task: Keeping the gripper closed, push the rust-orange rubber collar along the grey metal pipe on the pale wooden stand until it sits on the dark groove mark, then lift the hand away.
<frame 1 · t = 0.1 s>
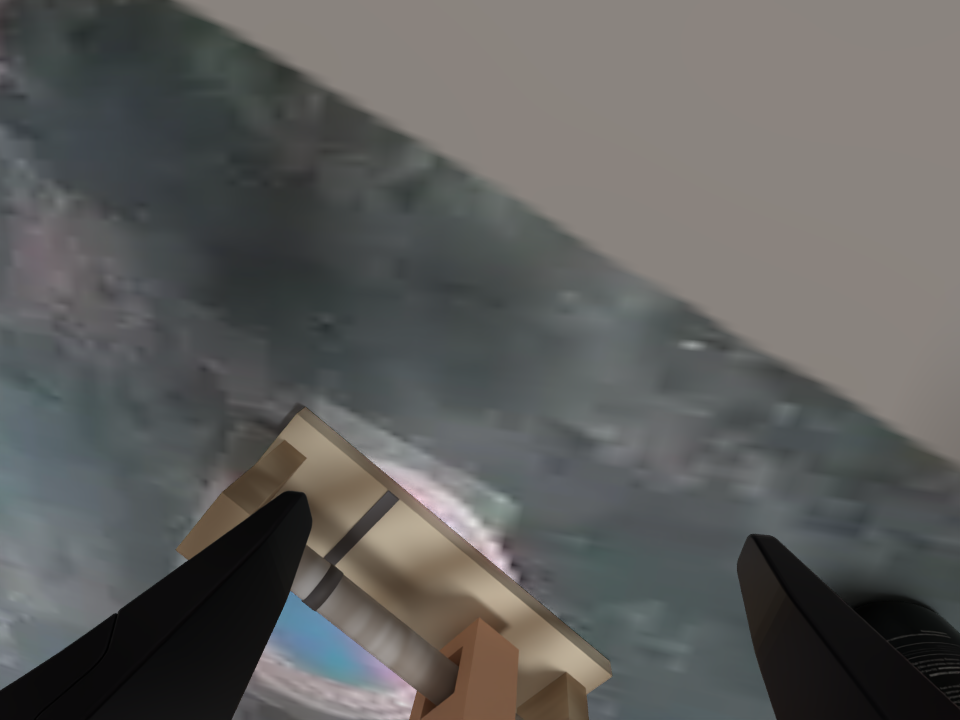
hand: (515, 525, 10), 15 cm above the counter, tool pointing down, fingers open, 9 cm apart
rubber collar: (460, 716, 24), point 6 cm above the counter, slide at -4.5 cm
pipe stand: (421, 577, 29), on the counter
supplement bottle: (880, 643, 27), on the counter
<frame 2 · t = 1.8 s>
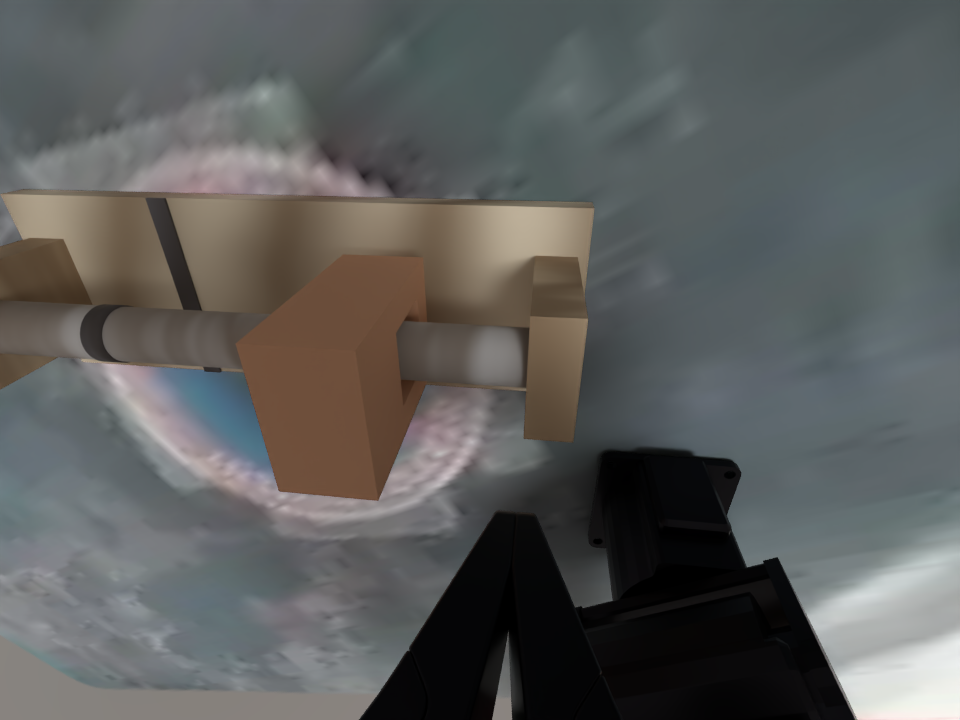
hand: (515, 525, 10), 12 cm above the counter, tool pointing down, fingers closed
rubber collar: (358, 362, 16), point 6 cm above the counter, slide at -4.5 cm
pipe stand: (306, 288, 21), on the counter
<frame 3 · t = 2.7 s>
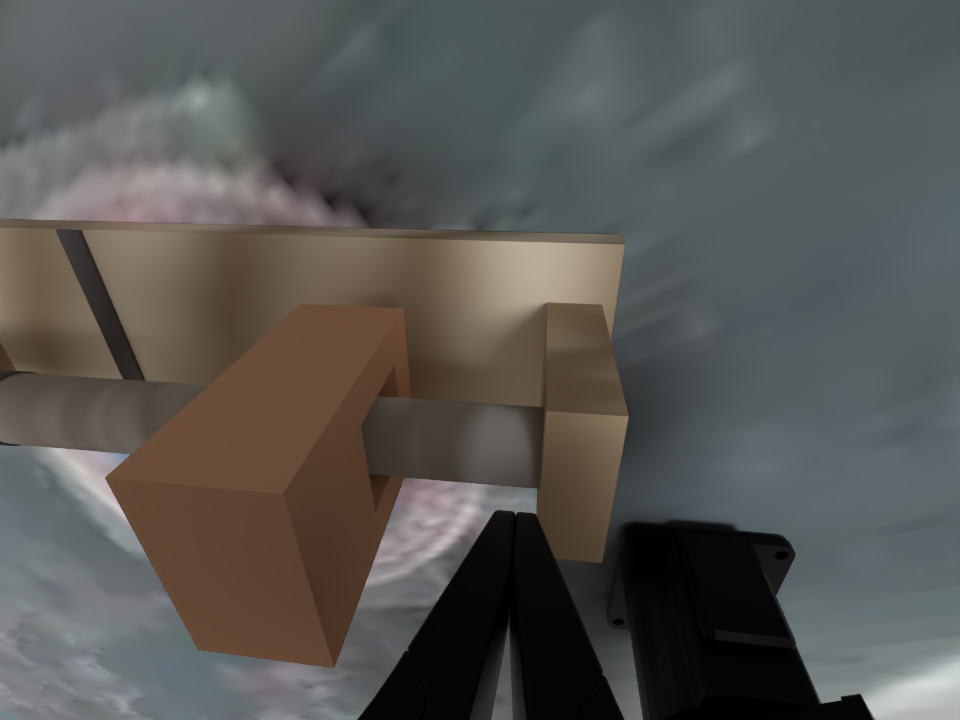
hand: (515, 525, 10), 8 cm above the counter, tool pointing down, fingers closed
rubber collar: (314, 455, 12), point 6 cm above the counter, slide at -4.5 cm
pipe stand: (265, 336, 17), on the counter
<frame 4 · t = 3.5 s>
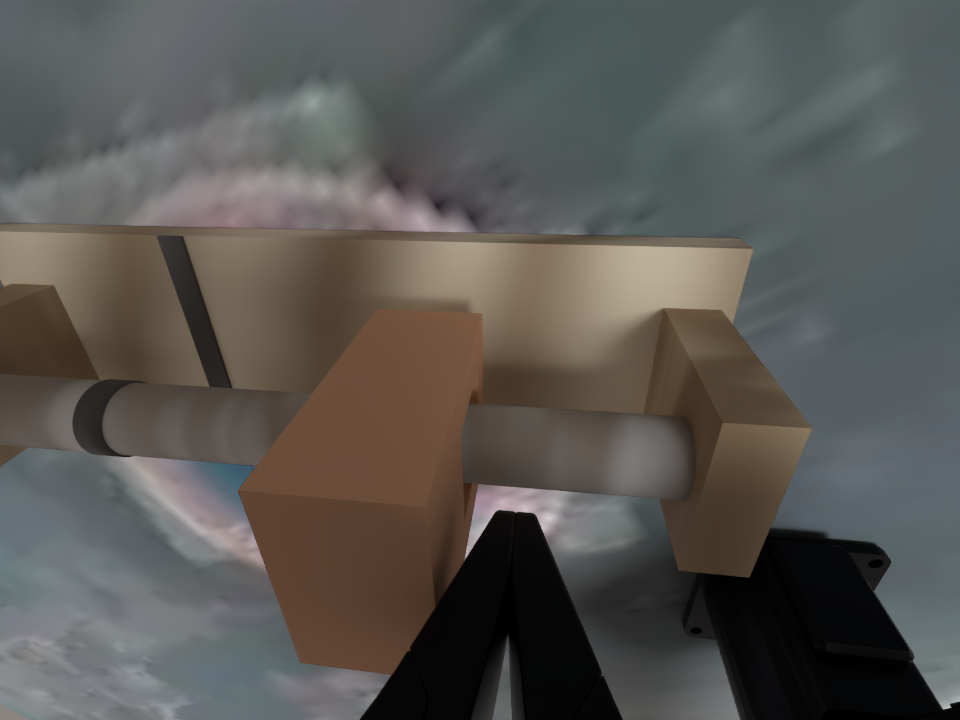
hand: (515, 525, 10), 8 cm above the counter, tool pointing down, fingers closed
rubber collar: (404, 463, 12), point 6 cm above the counter, slide at -3.3 cm, touching gripper
pipe stand: (356, 342, 17), on the counter
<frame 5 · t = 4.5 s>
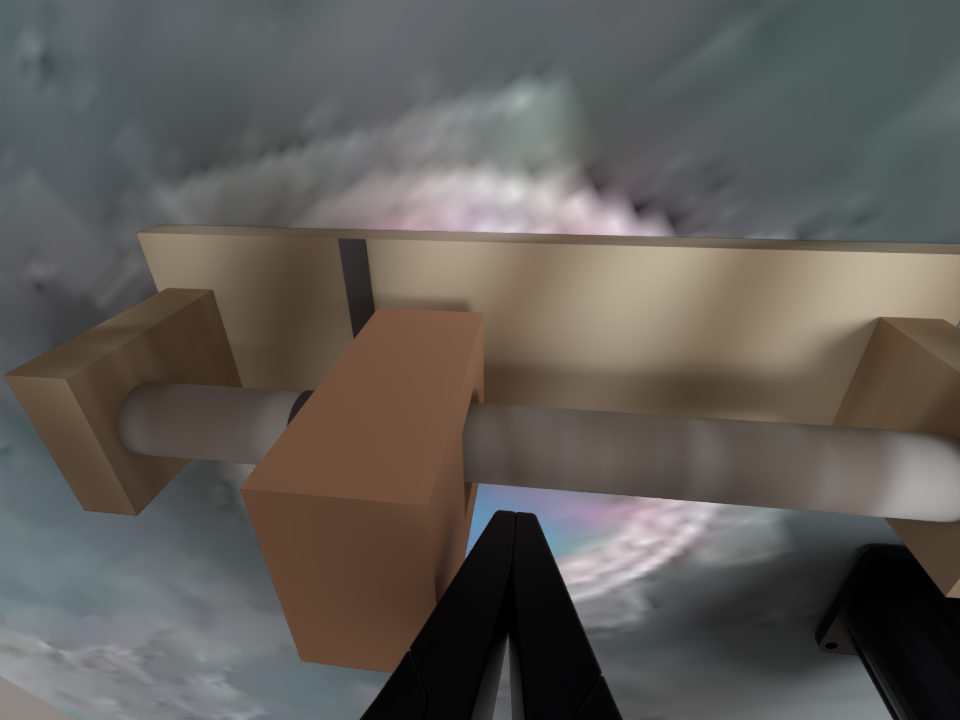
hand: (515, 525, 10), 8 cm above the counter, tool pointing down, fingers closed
rubber collar: (404, 462, 12), point 6 cm above the counter, slide at 2.5 cm, touching gripper
pipe stand: (519, 350, 16), on the counter
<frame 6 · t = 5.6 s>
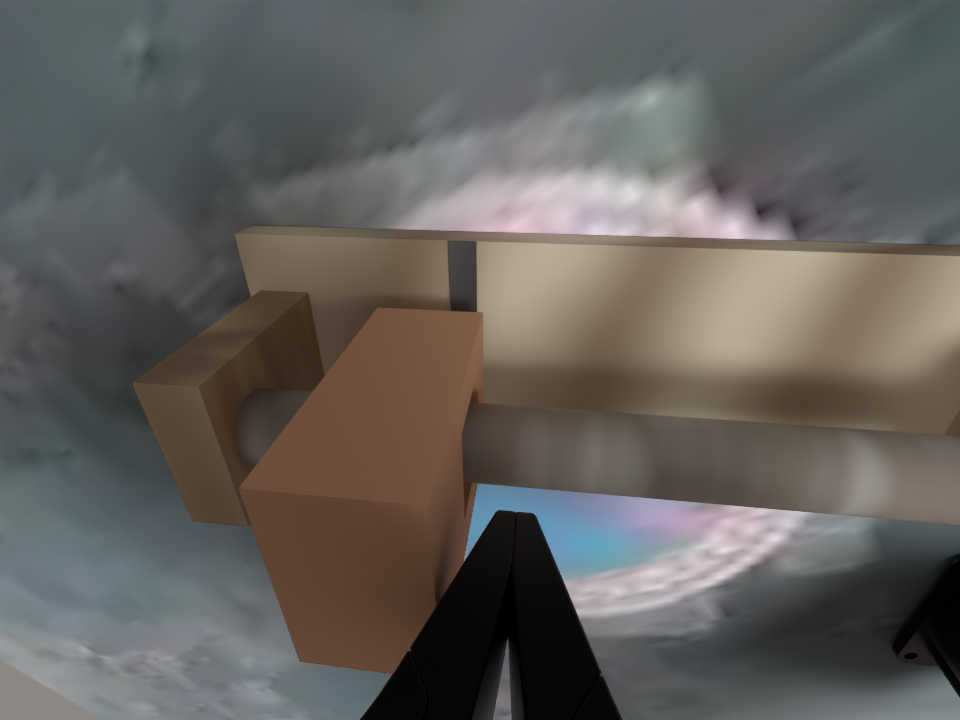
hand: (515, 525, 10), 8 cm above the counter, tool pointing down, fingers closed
rubber collar: (404, 462, 11), point 6 cm above the counter, slide at 5.7 cm, touching gripper
pipe stand: (617, 355, 16), on the counter
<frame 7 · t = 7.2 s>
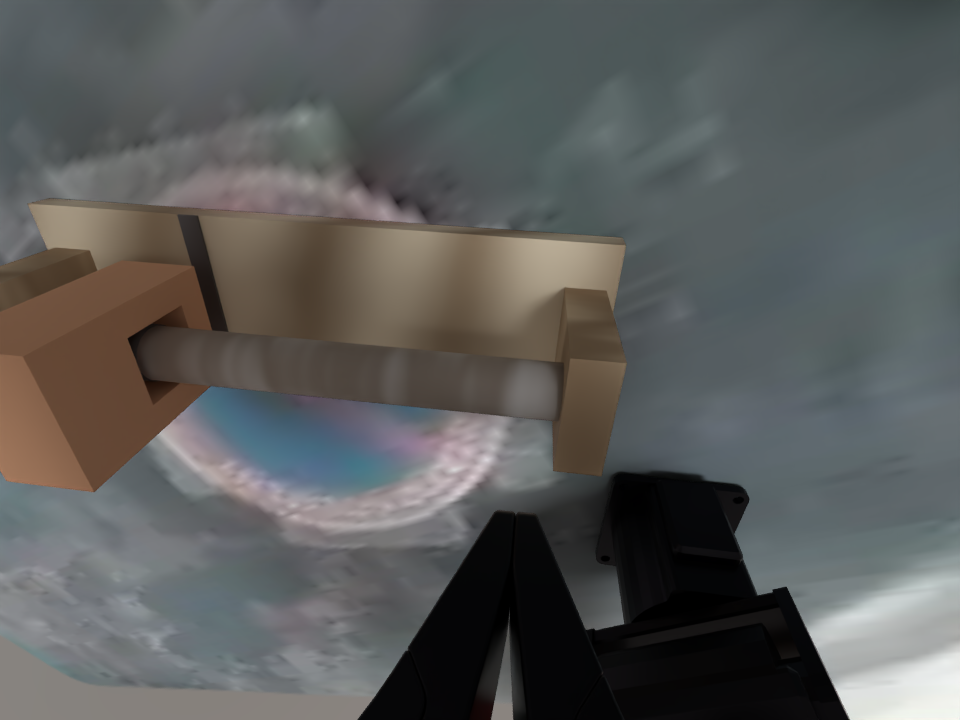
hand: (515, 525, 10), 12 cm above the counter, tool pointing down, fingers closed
rubber collar: (109, 363, 17), point 6 cm above the counter, slide at 5.7 cm
pipe stand: (332, 307, 21), on the counter
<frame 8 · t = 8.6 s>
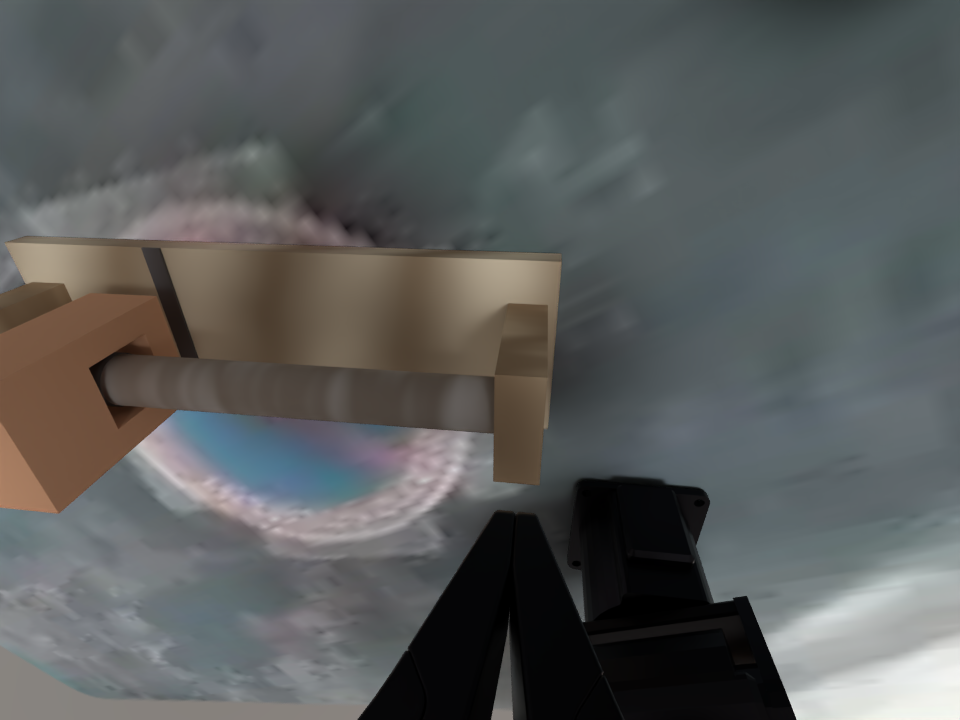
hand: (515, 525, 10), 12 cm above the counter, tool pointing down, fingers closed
rubber collar: (76, 391, 18), point 6 cm above the counter, slide at 5.7 cm
pipe stand: (294, 328, 22), on the counter
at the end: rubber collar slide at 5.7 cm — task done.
